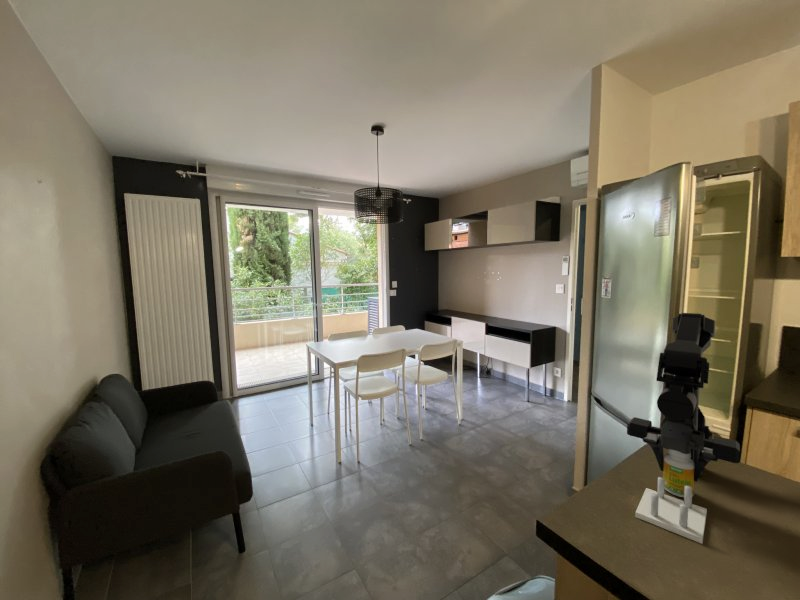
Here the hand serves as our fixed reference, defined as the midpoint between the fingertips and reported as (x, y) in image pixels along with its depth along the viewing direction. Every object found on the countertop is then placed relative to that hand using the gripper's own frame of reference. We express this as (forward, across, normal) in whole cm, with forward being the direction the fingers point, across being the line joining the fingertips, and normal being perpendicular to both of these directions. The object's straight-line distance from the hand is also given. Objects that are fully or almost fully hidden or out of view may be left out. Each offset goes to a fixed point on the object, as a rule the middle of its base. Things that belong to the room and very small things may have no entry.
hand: (678, 475), depth 75 cm
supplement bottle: (+4, 0, 0) cm, 4 cm away
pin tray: (+4, 0, -10) cm, 11 cm away
